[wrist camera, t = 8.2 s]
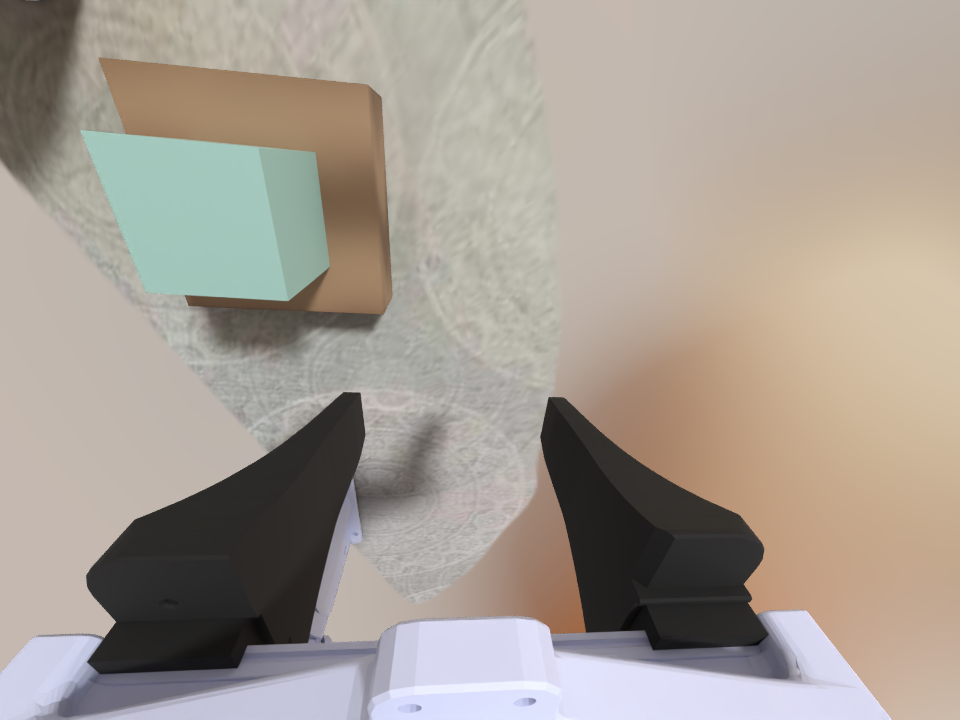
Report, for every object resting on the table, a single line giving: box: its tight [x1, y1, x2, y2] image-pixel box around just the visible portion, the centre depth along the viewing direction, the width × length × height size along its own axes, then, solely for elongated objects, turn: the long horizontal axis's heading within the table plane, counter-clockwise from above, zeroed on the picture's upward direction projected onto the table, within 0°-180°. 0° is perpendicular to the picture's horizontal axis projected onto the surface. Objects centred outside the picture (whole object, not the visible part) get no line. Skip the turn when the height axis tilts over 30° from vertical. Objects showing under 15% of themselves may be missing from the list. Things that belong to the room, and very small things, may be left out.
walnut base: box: [99, 58, 392, 314], centre depth 17 cm, size 10×10×3 cm
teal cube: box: [80, 130, 330, 301], centre depth 14 cm, size 5×5×5 cm
